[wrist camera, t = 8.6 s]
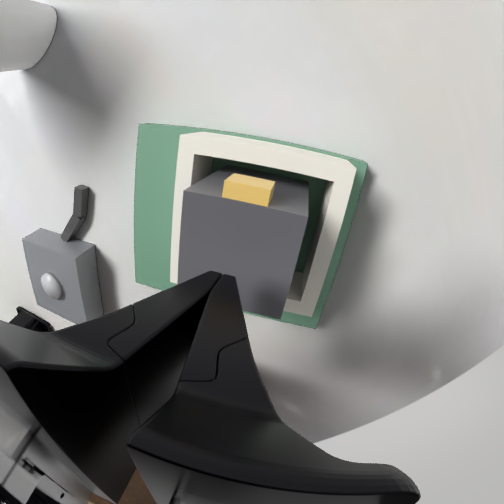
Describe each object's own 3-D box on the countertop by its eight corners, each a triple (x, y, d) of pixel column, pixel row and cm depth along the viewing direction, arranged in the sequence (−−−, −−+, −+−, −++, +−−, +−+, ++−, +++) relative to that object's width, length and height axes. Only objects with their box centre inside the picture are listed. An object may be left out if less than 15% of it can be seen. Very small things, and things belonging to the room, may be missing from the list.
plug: (290, 255, 17) (280, 319, 12) (217, 238, 17) (177, 292, 12) (311, 170, 15) (312, 200, 9) (229, 154, 15) (184, 173, 10)
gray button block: (103, 313, 24) (86, 332, 21) (52, 291, 24) (34, 306, 22) (91, 186, 19) (65, 197, 16) (36, 177, 19) (12, 187, 17)
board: (315, 319, 20) (314, 360, 16) (142, 275, 21) (114, 304, 17) (364, 161, 15) (381, 173, 11) (147, 123, 16) (108, 127, 12)
